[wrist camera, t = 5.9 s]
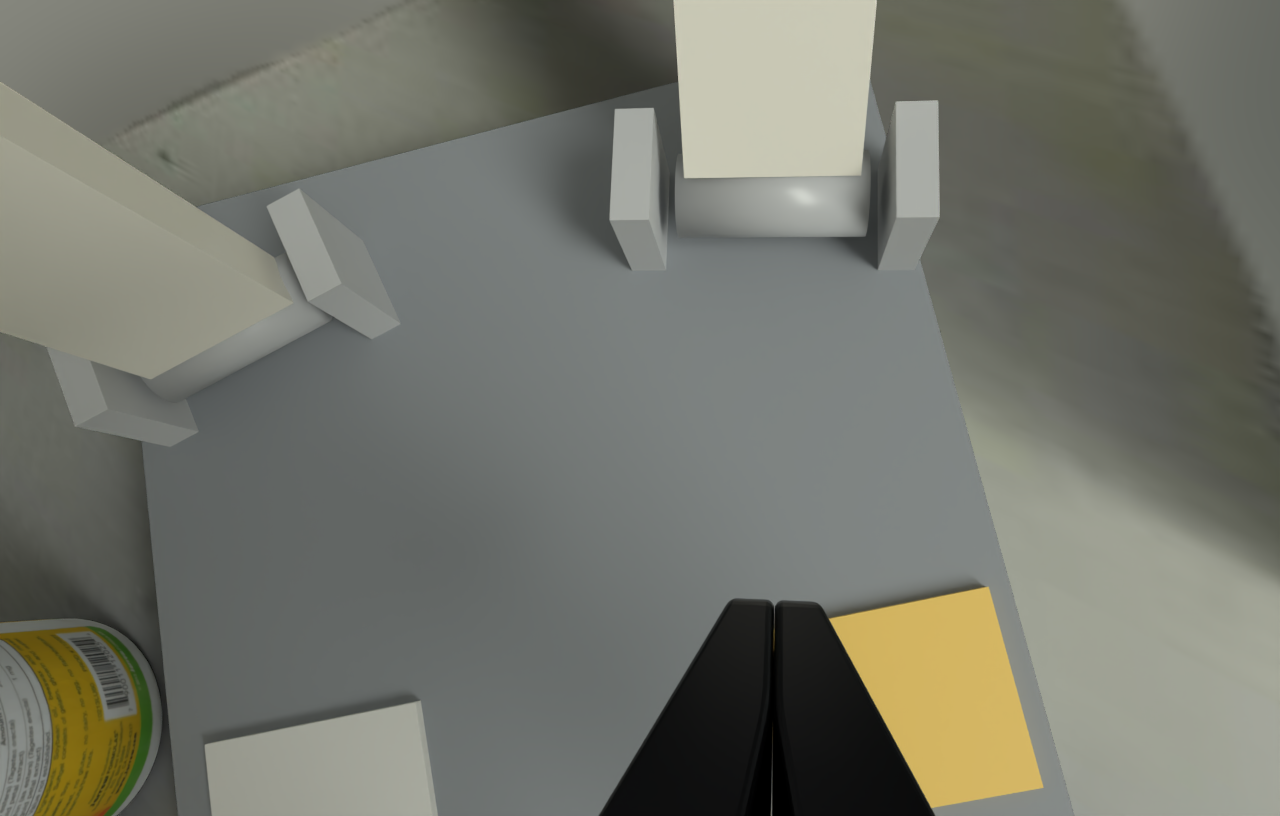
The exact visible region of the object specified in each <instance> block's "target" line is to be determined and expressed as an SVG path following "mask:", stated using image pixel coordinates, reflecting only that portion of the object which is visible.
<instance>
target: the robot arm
mask: <svg viewBox="0 0 1280 816" xmlns="http://www.w3.org/2000/svg"><path fill="white" fill-rule="evenodd" d="M772 739H773V748H772ZM771 799H772V816H936V815H935V813H934V812H933V810H932V808H931V806H930V804H929V802H928V801H927V799H926V797H925V795H924V793H923V791H922V790H921V788H920V786H919V784H918V782H917V780H916V778H915V777H914V775H913V773H912V771H911V769H910V767H909V766H908V764H907V762H906V760H905V758H904V756H903V754H902V753H901V751H900V749H899V747H898V745H897V743H896V742H895V740H894V738H893V736H892V734H891V732H890V730H889V729H888V727H887V725H886V723H885V721H884V719H883V718H882V716H881V714H880V712H879V710H878V708H877V707H876V705H875V703H874V701H873V699H872V697H871V695H870V694H869V692H868V690H867V688H866V686H865V684H864V683H863V681H862V679H861V677H860V675H859V673H858V671H857V670H856V668H855V666H854V664H853V662H852V660H851V659H850V657H849V655H848V653H847V651H846V649H845V648H844V646H843V644H842V642H841V640H840V638H839V636H838V635H837V633H836V631H835V629H834V627H833V625H832V624H831V622H830V620H829V618H828V616H827V614H826V612H825V611H824V609H823V608H822V606H821V605H820V604H818V603H817V602H812V601H790V600H781V601H779V602H777V604H776V605H775V620H774V605H773V603H772V602H771V601H769V600H766V599H744V598H734V599H732V600H730V601H729V602H728V603H727V604H726V606H725V607H724V609H723V610H722V612H721V614H720V615H719V617H718V619H717V620H716V622H715V624H714V625H713V627H712V629H711V630H710V632H709V634H708V635H707V637H706V639H705V640H704V642H703V644H702V645H701V647H700V649H699V650H698V652H697V653H696V655H695V657H694V658H693V660H692V662H691V663H690V665H689V667H688V668H687V670H686V672H685V673H684V675H683V677H682V678H681V680H680V682H679V683H678V685H677V687H676V688H675V690H674V692H673V693H672V695H671V696H670V698H669V700H668V701H667V703H666V705H665V706H664V708H663V710H662V711H661V713H660V715H659V716H658V718H657V720H656V721H655V723H654V725H653V726H652V728H651V730H650V731H649V733H648V735H647V736H646V738H645V739H644V741H643V743H642V744H641V746H640V748H639V749H638V751H637V753H636V754H635V756H634V758H633V759H632V761H631V763H630V764H629V766H628V768H627V769H626V771H625V773H624V774H623V776H622V778H621V779H620V781H619V782H618V784H617V786H616V787H615V789H614V791H613V792H612V794H611V796H610V797H609V799H608V801H607V802H606V804H605V806H604V807H603V809H602V811H601V812H600V814H599V816H771Z"/></svg>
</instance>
